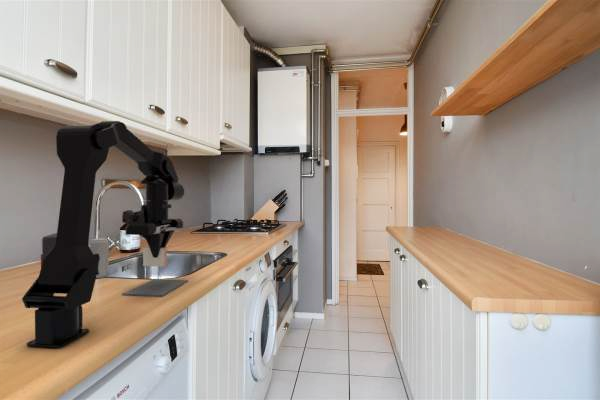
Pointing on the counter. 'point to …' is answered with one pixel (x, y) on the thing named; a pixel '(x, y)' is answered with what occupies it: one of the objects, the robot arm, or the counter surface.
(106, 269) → the beverage can
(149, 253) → the tile
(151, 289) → the mat
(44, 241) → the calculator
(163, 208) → the robot arm
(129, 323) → the counter surface
